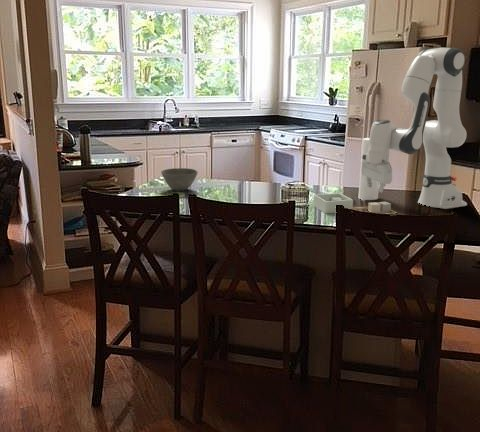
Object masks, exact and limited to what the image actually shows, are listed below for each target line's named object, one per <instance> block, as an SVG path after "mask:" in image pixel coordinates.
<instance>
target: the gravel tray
mask: <svg viewBox="0 0 480 432" xmlns="http://www.w3.org/2000/svg"><path fill="white" fill-rule="evenodd" d="M357 209H359V210H362V209H368V206H361V207H360V206H358V207H357V206H356V207H353V210H357ZM390 212H392V213H386V214H395V213H397V214H398V212H397V211H394V210H393V209H391V210H390Z"/></svg>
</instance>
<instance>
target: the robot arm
mask: <svg viewBox="0 0 480 432" xmlns="http://www.w3.org/2000/svg"><path fill="white" fill-rule="evenodd" d="M465 63H466V55H465V54H464V51H463V50H462V49H461V48H456V47H435V48H426V49H422V50H421V51H420V52H418V54H417V56H416V57H415V58H414V59H413V60H412V62H411V64H410V66H409V67H408V69H407V72H406V74H405V76H404V77H403V81H402V84H401V89H400V91H401V94H402V96H403V98H404V99H405V100H406V101H408V102H409V103H411V104H412V106H413V114H412V118H411V122H410V126H409V127H408V128H401V127H398V126H397V125H394V124H393V122H392V121H391V120H389V119H379V120H375V121H373V122H372V124H371V127H370V132H369V137H368V138H369V143H370V146H369V149H368V153H366V154H363V155H362V154H361V156H362V159H363V161H362V168H361V167H360V169H361V172H362V175H364V176H366V181H367V187H369V188H371V187H372V183H371V179H373V180H376V181H378V182H379V188H378V193H384V188H385V187H386V185H389V184H391V183H392V180H393V168H392V165H391V162H390V161H389V159H390V150H393V151H397V152H400V153H401V152H402V153H403V154H407V155H414V154H415V153H417V152H418V151H419V150H421V147H422V146H423V147H424V152H425V164H424V165H425V166H424V173H423V176H422V177H423V178H422V187H421V192H420V195H419V198H418V201H417V204H419V203H420V204H419V205H421V204H422V205H421V206H424V205H426V207H429V206H430V207H429V208H438V209H439V208H440V209H444V210H447V209H454V208H459V207H466V206H468V203H467V202H466V201H465V200H463V193H462V190H461V189H459V188H458V187H456V185H454V183H452V182H456V181H457V179H458V177H456V176H451V175H450V174H451V165H452V159H451V157H450V155H449V153H448V151H447V148H459V147H460V146H462V145H463V144H465V141H466V139H467V136H468V135H467V130H466V128H465V127H464V126H463V124H462V119H461V115H460V102H461V96H462V95H461V94H462V88H463V68H464V66H465ZM434 75H437V79H436V83H435V90H434V97H433V104H432V107H433V110H434V111H435V114H436V117H437V120H436V119H433V120H432V119H431V120H427V118H428V115H429V111H430V110H429V109H430V105H431V97H430V95H429V90H430V87H431V83H432V82H433V81H432V80H433V77H434Z"/></svg>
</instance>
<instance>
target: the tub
mask: <svg viewBox="0 0 480 432" xmlns="http://www.w3.org/2000/svg"><path fill="white" fill-rule="evenodd" d="M333 197H340V198H341V199H342V200H339V201H331V198H333ZM312 204H313V205H312V206H313V207H315V208H316V209H318V210H319V211H321V212H323V213H324V214H333V213H335V207H336V205H337V204H339V205H343V206H344V207H345V208H348V209H353V208H354V199H352V198H351V197H349V196H346V195H344V194H342V193H341V192H337V193H336V192H335V193H334V192H333V193H318V194H313V203H312ZM335 214H336V213H335Z"/></svg>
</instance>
